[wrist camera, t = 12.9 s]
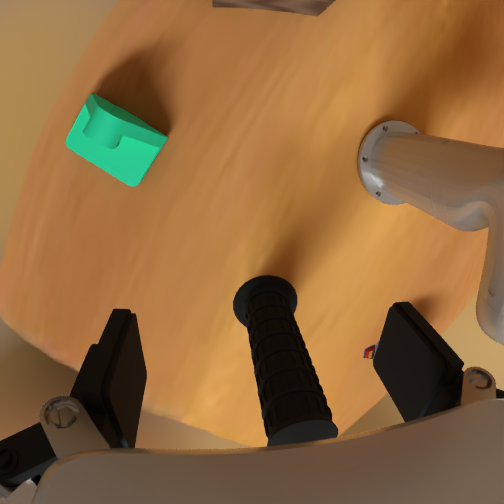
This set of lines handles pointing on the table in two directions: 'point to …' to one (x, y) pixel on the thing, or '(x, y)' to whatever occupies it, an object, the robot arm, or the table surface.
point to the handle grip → (282, 364)
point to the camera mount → (115, 140)
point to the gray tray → (279, 5)
